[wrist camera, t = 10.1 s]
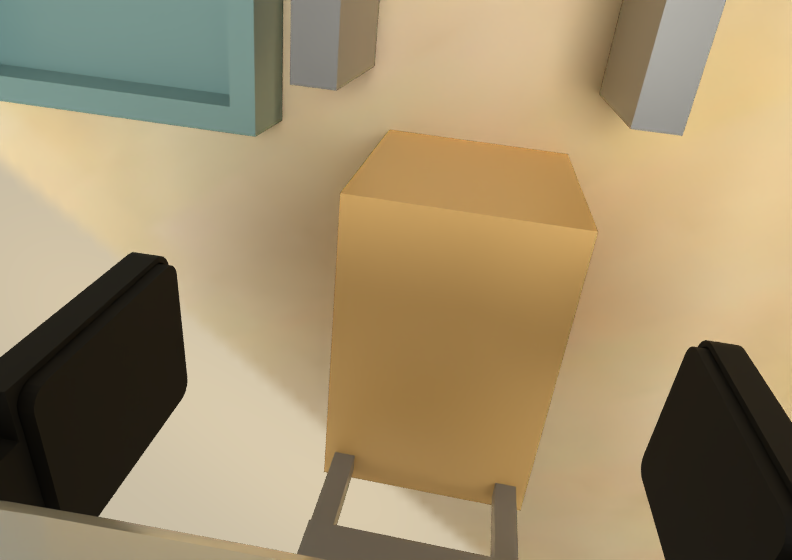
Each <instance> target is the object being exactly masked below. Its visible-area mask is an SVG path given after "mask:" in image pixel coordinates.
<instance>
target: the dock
mask: <svg viewBox="0 0 792 560" xmlns="http://www.w3.org/2000/svg"><path fill="white" fill-rule="evenodd" d="M725 2H726V0H623V2H622V6H621V10H620V14H619V18H618V22H617V26H616V30H615V34H614V38H613V42H612V46H611V50H610V54H609V58H608V62H607V66H606V70H605V74H604V78H603V82H602V86H601V90H600V94H599V95H600V96H601V97H602V98H603V99H604V100H605V101H606V102H607V103H608V105H609V106H610V107H611V108H612V109H613V110H614V111H615V112H616V113H617V114H618V116H619V117H620V118H621V119H622V120H623V121H624V122H625V123H626V124H627V126H628V127H629V128H630V129H635V130H643V131H650V132H658V133H666V134H673V135H681V136H682V135H683V132H684V129H685V126H686V123H687V120H688V117H689V114H690V111H691V108H692V104H693V101H694V98H695V95H696V92H697V89H698V86H699V83H700V80H701V77H702V74H703V70H704V67H705V64H706V61H707V58H708V55H709V52H710V49H711V46H712V43H713V39H714V36H715V33H716V30H717V27H718V24H719V21H720V18H721V15H722V12H723V9H724V5H725ZM378 12H379V0H291V49H290V85H298V86H306V87H313V88H321V89H329V90H338V89H339V88H341V87H343V86H344V85H346V84H347V83H349V82H350V81H352V80H354V79H355V78H357V77H358V76H360V75H361V74H363V73H364V72H366V71H368V70H369V69H371V68H372V67H374V65H375V52H376V38H377V25H378Z"/></svg>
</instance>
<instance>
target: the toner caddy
mask: <svg viewBox="0 0 792 560" xmlns="http://www.w3.org/2000/svg"><path fill="white" fill-rule="evenodd" d="M597 234H598V230H597V228H596V225H595V223H594V220H593V218H592V215H591V212H590V210H589V207H588V205H587V202H586V200H585V197H584V195H583V192H582V190H581V187H580V184H579V182H578V179H577V177H576V174H575V172H574V169H573V167H572V164H571V162H570V159H569V156H568V154H563V153H555V152H548V151H541V150H534V149H526V148H519V147H512V146H504V145H497V144H490V143H483V142H475V141H468V140H461V139H454V138H446V137H439V136H432V135H424V134H417V133H410V132H403V131H395V130H389V131H388V132H387V134H386V135H385V136H384V137H383V139H382V140H381V141H380V143H379V144H378V145H377V146H376V148H375V149H374V150H373V152H372V153H371V154H370V155H369V157H368V158H367V159H366V161H365V162H364V163H363V164H362V166H361V167H360V168H359V170H358V171H357V172H356V174H355V175H354V176H353V177H352V179H351V180H350V181H349V183H348V184H347V185H346V186H345V188H344V189H343V190H342V192H341V193H340V206H339V223H338V241H337V258H336V276H335V293H334V310H333V328H332V345H331V363H330V380H329V397H328V415H327V432H326V450H325V467H324V472H327V473H328V474H327V476H326V479H325V482H324V485H323V488H322V490H321V493H320V496H319V499H318V502H317V504H316V507H315V510H314V513H313V516H312V519H311V520H309V522H308V525H307V528H306V531H305V533H304V536H303V539H302V542H301V545H300V547H299V550H298V553H297V554H299V555H304V556H309V557H314V558H320V559H325V560H518V538H517V510H521V506H522V503H523V499H524V495H525V492H526V488H527V485H528V481H529V477H530V474H531V470H532V467H533V463H534V460H535V456H536V452H537V449H538V445H539V442H540V438H541V435H542V431H543V427H544V424H545V420H546V417H547V413H548V409H549V406H550V402H551V399H552V395H553V392H554V388H555V384H556V381H557V377H558V374H559V370H560V366H561V363H562V359H563V356H564V352H565V349H566V345H567V341H568V338H569V334H570V331H571V327H572V323H573V320H574V316H575V313H576V309H577V306H578V302H579V298H580V295H581V291H582V288H583V284H584V280H585V277H586V273H587V270H588V266H589V263H590V259H591V255H592V252H593V248H594V245H595V241H596V238H597ZM351 477H353V478H358V479H363V480H368V481H373V482H378V483H383V484H388V485H393V486H398V487H403V488H408V489H414V490H419V491H424V492H429V493H434V494H439V495H444V496H449V497H454V498H459V499H464V500H469V501H474V502H480V503H485V504H490V505H492V513H491V557H489V556H484V555H479V554H474V553H469V552H464V551H460V550H455V549H449V548H445V547H440V546H435V545H430V544H426V543H421V542H415V541H411V540H406V539H401V538H396V537H391V536H386V535H381V534H376V533H372V532H367V531H362V530H357V529H352V528H347V527H343V526H338V525H337V523H338V519H339V516H340V513H341V510H342V506H343V503H344V500H345V496H346V493H347V490H348V487H349V483H350V480H351Z"/></svg>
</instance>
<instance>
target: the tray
mask: <svg viewBox="0 0 792 560" xmlns="http://www.w3.org/2000/svg"><path fill="white" fill-rule="evenodd" d="M282 47H283V0H0V101H5V102H12V103H19V104H26V105H34V106H41V107H48V108H55V109H62V110H69V111H76V112H84V113H91V114H98V115H105V116H112V117H119V118H126V119H133V120H141V121H148V122H155V123H162V124H169V125H176V126H183V127H190V128H198V129H205V130H212V131H219V132H226V133H233V134H240V135H247V136H255V137H256V136H257V135H259V134H260V133H262V132H264V131H265V130H267V129H269V128H270V127H272V126H273V125H275V124H277V123H278V122H280V121H281V120H282Z"/></svg>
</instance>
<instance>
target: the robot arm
mask: <svg viewBox="0 0 792 560" xmlns="http://www.w3.org/2000/svg"><path fill="white" fill-rule="evenodd" d="M186 387H187V371H186V362H185V351H184V342H183V331H182V321H181V312H180V302H179V292H178V282H177V273H176V270H175V268H174V267H173V266H170V265H168V262H167V260H166V259H165V258H164V257H162V256H155V255H149V254H142V253H136V252H132V253H130V254H128V255H127V256H126V257H125V258H123V259H122V260H121V261H120V262H118V263H117V264H116V265H115V266H113V267H112V268H111V269H110V270H108V271H107V272H106V273H105V274H103V275H102V276H101V277H100V278H99V279H97V280H96V281H95V282H94V283H92V284H91V285H90V286H88V287H87V288H86V289H85V290H84V291H82V292H81V293H80V294H78V295H77V296H76V297H75V298H74V299H72V300H71V301H70V302H69V303H67V304H66V305H65V306H64V307H62V308H61V309H60V310H59V311H57V312H56V313H55V314H54V315H52V316H51V317H50V318H49V319H48V320H46V321H45V322H44V323H42V324H41V325H40V326H39V327H37V328H36V329H35V330H34V331H32V332H31V333H30V334H29V335H28V336H26V337H25V338H24V339H22V340H21V341H20V342H19V343H18V344H16V345H15V346H14V347H13V348H11V349H10V350H9V351H8V352H6V353H5V354H4V355H3V356H1V357H0V560H325V559H320V558H314V557H309V556H304V555H299V554H294V553H288V552H283V551H278V550H273V549H267V548H262V547H257V546H252V545H246V544H241V543H236V542H230V541H225V540H219V539H214V538H209V537H204V536H198V535H193V534H188V533H182V532H177V531H171V530H166V529H161V528H156V527H150V526H145V525H140V524H134V523H129V522H124V521H118V520H113V519H108V518H102V517H98V516H99V515H100V513H101V512H102V510H103V509H104V508H105V506H106V505H107V504H108V502H109V501H110V499H111V498H112V497H113V495H114V494H115V492H116V491H117V489H118V488H119V486H120V485H121V484H122V482H123V481H124V479H125V478H126V477H127V475H128V474H129V473H130V471H131V470H132V468H133V467H134V465H135V464H136V463H137V461H138V460H139V458H140V457H141V456H142V454H143V453H144V451H145V450H146V449H147V447H148V446H149V444H150V443H151V442H152V440H153V439H154V437H155V436H156V435H157V433H158V432H159V430H160V429H161V428H162V426H163V425H164V423H165V422H166V421H167V419H168V418H169V416H170V415H171V413H172V412H173V411H174V409H175V408H176V406H177V405H178V404H179V402H180V401H181V399H182V398H183V396H184V394H185V391H186ZM641 476H642V481H643V484H644V487H645V491H646V494H647V498H648V501H649V505H650V508H651V512H652V515H653V519H654V522H655V525H656V529H657V532H658V536H659V539H660V543H661V546H662V550H663V553H664V557H665V560H792V422H791V421H790V419H789V417H788V416H787V414H786V413H785V411H784V410H783V408H782V407H781V405H780V404H779V402H778V401H777V399H776V397H775V396H774V394H773V393H772V391H771V390H770V388H769V387H768V385H767V384H766V382H765V381H764V379H763V377H762V376H761V374H760V373H759V371H758V370H757V368H756V367H755V365H754V364H753V362H752V361H751V359H750V357H749V356H748V354H747V353H746V351H745V350H744V349H743V348H742V347H741V346H739V345H733V344H727V343H720V342H714V341H707V340H705V341H702V342H701V343H700V344H699V346H698V347H690V348H689V349H688V350H687V352H686V354H685V356H684V358H683V361H682V363H681V366H680V368H679V371H678V373H677V375H676V378H675V380H674V383H673V385H672V388H671V390H670V392H669V395H668V397H667V400H666V402H665V405H664V407H663V409H662V412H661V414H660V417H659V419H658V422H657V424H656V426H655V429H654V431H653V434H652V436H651V439H650V441H649V444H648V446H647V448H646V451H645V453H644V456H643V459H642V464H641Z"/></svg>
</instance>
